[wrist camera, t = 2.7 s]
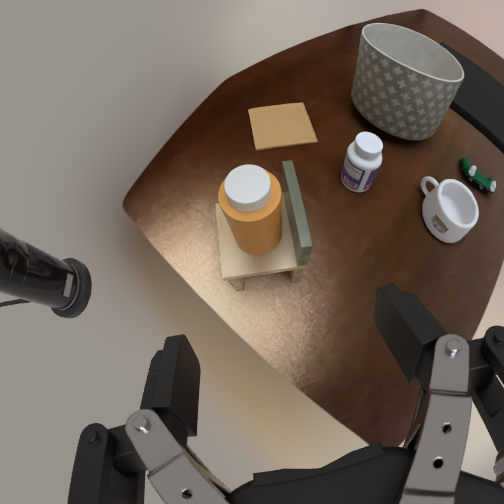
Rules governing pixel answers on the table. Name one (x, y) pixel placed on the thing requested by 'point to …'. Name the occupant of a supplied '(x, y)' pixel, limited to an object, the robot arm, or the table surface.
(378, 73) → the planter
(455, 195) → the mug
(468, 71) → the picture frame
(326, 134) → the table surface
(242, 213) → the amber bottle
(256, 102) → the table surface
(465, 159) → the gaming controller
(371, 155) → the pill bottle
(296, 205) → the miniature wooden chair
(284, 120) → the coaster
